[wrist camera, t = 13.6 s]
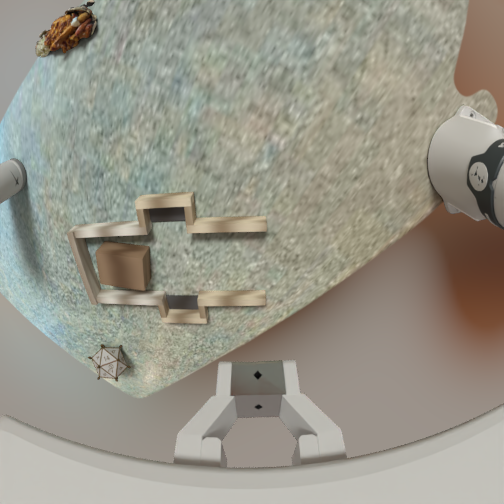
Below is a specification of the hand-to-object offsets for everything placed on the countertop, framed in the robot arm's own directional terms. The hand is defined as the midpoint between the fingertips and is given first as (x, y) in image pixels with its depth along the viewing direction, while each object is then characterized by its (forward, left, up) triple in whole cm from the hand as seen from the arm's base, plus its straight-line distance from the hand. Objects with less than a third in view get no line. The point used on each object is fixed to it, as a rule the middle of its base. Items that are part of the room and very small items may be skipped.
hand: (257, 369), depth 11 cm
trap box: (+14, +14, -31) cm, 37 cm away
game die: (+31, +37, -31) cm, 58 cm away
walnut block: (+20, +14, -31) cm, 40 cm away
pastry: (+27, -25, -32) cm, 49 cm away
